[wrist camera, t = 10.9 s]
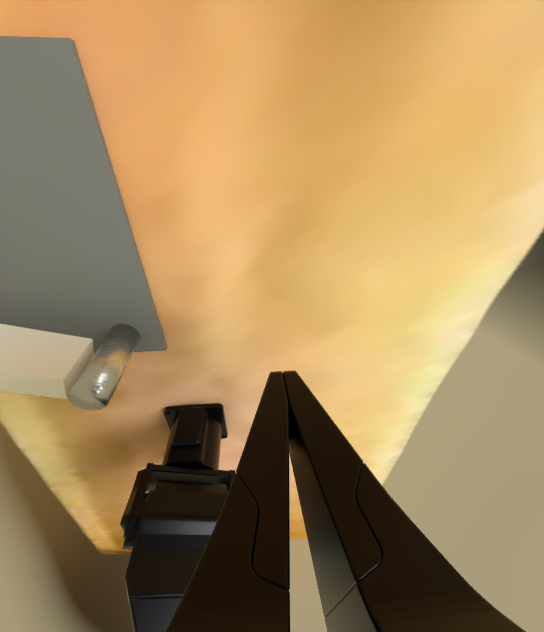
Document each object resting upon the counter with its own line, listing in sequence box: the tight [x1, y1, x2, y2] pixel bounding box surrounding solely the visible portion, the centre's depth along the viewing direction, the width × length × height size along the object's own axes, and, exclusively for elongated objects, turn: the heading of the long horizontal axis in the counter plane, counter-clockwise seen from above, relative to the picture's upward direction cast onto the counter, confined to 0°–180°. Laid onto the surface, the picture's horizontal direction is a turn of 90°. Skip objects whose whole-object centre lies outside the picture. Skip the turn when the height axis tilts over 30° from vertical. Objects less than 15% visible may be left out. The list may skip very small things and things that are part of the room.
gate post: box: [68, 324, 140, 410], centre depth 20 cm, size 2×2×7 cm
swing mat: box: [0, 36, 167, 354], centre depth 18 cm, size 20×14×1 cm
